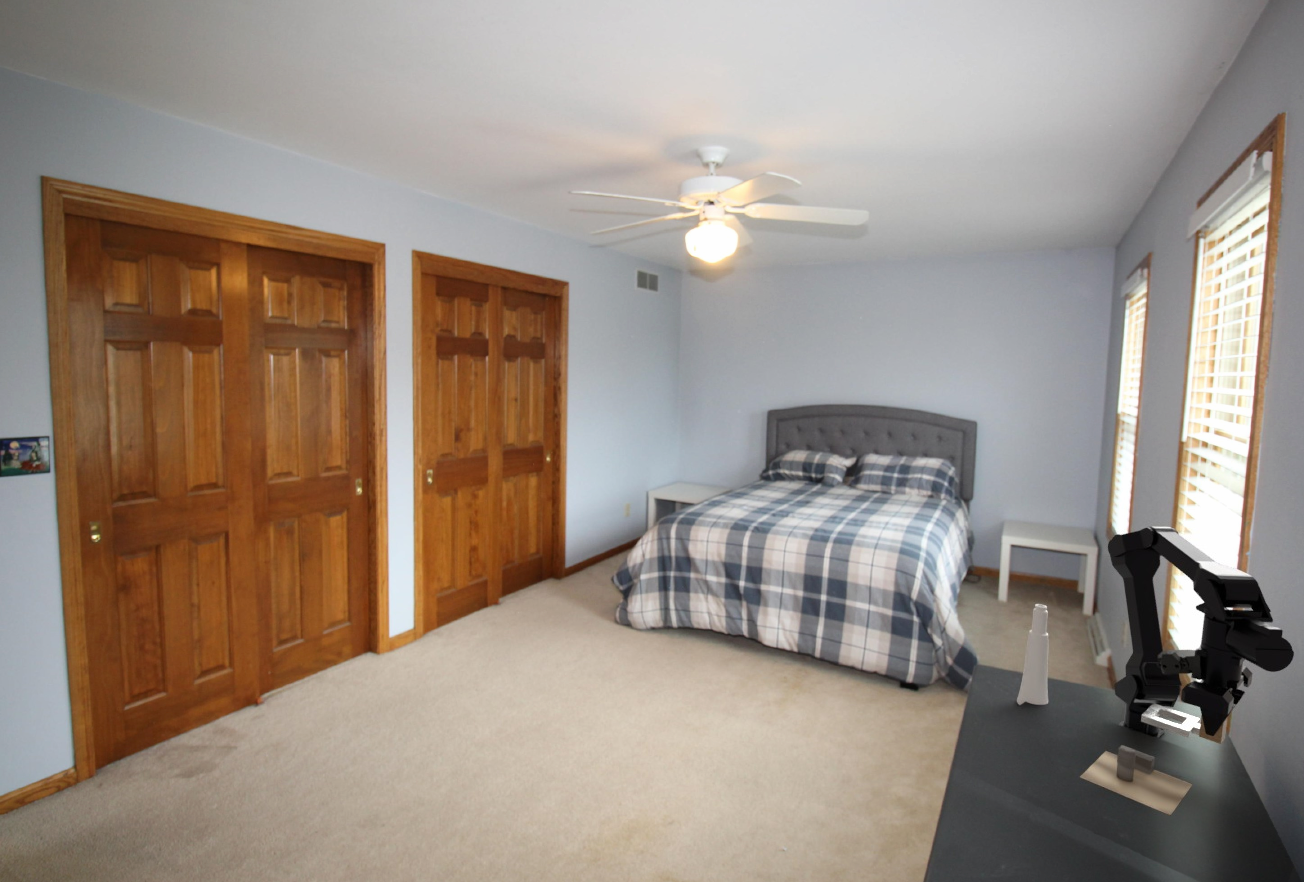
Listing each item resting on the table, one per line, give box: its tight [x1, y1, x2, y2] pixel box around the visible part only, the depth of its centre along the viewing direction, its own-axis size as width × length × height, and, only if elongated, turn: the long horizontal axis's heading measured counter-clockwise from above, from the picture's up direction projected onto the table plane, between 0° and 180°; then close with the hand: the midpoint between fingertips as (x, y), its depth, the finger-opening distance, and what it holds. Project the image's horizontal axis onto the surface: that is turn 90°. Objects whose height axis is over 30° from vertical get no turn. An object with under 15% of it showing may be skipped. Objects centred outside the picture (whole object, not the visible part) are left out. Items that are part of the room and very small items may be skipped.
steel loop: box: [1141, 703, 1229, 745], centre depth 123 cm, size 7×11×6 cm, turn 40°
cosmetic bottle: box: [1016, 603, 1050, 706], centre depth 148 cm, size 6×6×22 cm
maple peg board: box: [1079, 744, 1193, 816], centre depth 119 cm, size 13×13×6 cm
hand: (1212, 731), depth 120 cm, fingers closed on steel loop, 3 cm apart
